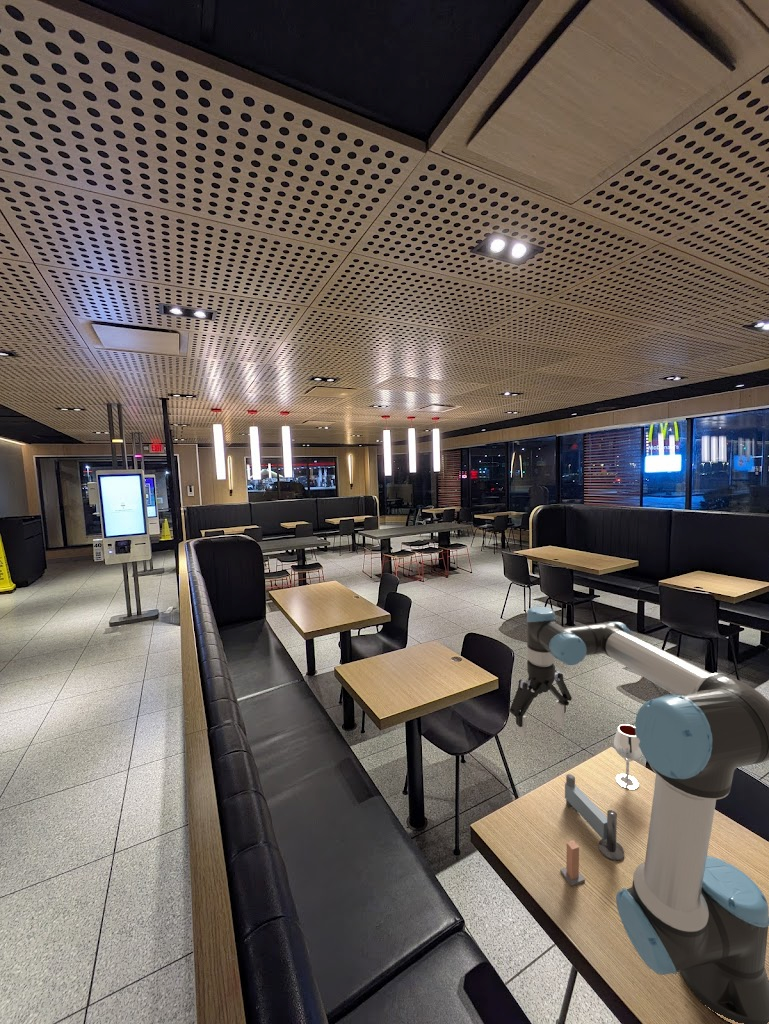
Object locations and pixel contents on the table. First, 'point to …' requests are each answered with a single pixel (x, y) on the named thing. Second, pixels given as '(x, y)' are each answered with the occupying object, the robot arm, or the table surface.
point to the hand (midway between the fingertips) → (541, 729)
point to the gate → (585, 807)
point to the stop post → (572, 865)
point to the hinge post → (611, 839)
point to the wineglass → (627, 753)
